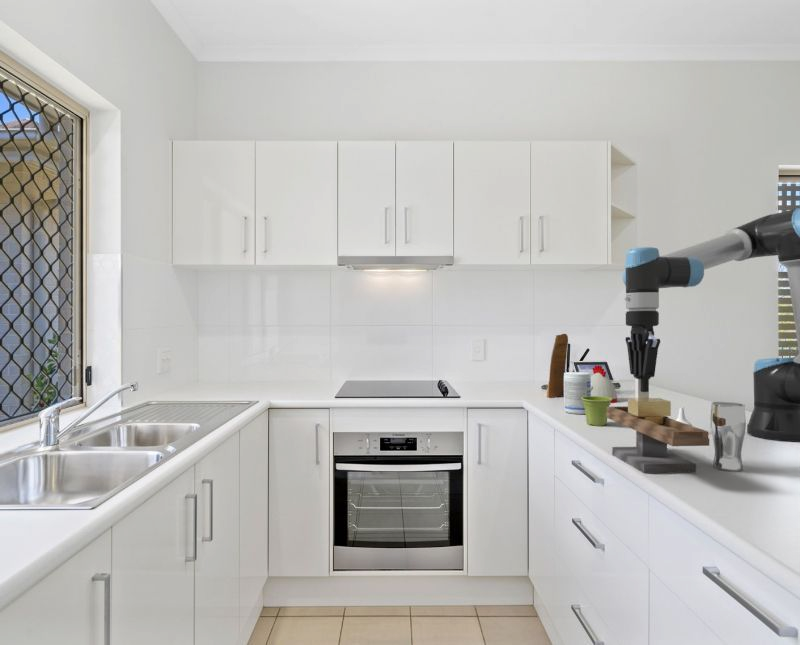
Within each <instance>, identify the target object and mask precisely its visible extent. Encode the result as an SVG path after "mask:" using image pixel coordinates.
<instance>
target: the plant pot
mask: <svg viewBox="0 0 800 645" xmlns="http://www.w3.org/2000/svg"><path fill="white" fill-rule="evenodd" d="M582 400H583V403H584V407H585V414H584V415H585V420H586V425H588V426H591V425H593V426H595V427H603V426H606V425H607V424H608V418H606V412H607V407H610V406H611V403H610V402H611V401H612V399H611V398H608V397H601V396H585V397H582Z"/></svg>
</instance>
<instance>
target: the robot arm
mask: <svg viewBox="0 0 800 645" xmlns="http://www.w3.org/2000/svg"><path fill="white" fill-rule="evenodd" d="M659 252H660V251H659V249H658V248H656V247H652V246H651V247H650V246H646V247H644V246H643V247H635V248H631V249H628V251H626V254H625V266H624V269H623V273H622V282H623V284H624V285H625V297H624V301H625V309H627V311H626V312H625V325H626V326H628V327H631V328H630V336H626V337H625V339H624V340H625V342H626V347H627V355H628V363H629V366H628V367H629V373H630V375H632V376H633V377H634V379H635V381H634V382H635V383H634V386H635V387H634V388H635V390H634V391H635V392H634V396H635V397H634V398H650V379H651V378H654V377H655V373H656V367H657V366H656V365H657V358H658V351H659V347H660V344H661V339H660V338H656V337H655V331H654V327H657V326H659V325H660V324H659V323H660V315H659V314H660V312H659V311H657V309H659V307H660V293H659V292H660V291H659V290H660V289H666V288H667V289H668V288H679V287H680V288H691V287H692V288H693V287H696V286H698V285H700V284H701V282H702V281H703V279H704V277H705V270H708V269H712V268H713V267H717V266H720V265H722V264H727V263H728V262H732V261H735V262H742V261H745V260H749V259H753V258H754V259H755V258H762V257H772V256H773V257H774V256H777V257H778V263H779V264H781V265H782V266H784V267H785V268H786V271H787V277H788V278H787V279H788V285H789V286H788V287H789V293H790V299H791V306H792V312H793V320H794V327H795V328H794V329H795V335H796V339H797V340H796V341H797V346H798V348H797V349H798V354H797V356H795V357H774V358H773V357H771V358H760V359H757V360H756V361H755V362H754V366H753V368H754V369H753V410H752V412H751V414H750V418H749V421H748V423H747V425H746V433H747V434H748V435H750V436H754V437H756V438H762V439H767V440H774V441H785V442H800V207H799V208H798V207H797V208H793V209H789V210H785V211H781V212H777V213H772V214H768V215H765V216H762V217H759V218H756V219H753V220H752V221H750V222H747V223H745V224H741V225H740V226H739V225H738V226H737V227H734V228H731V229H729V230H727V231H726V232H725V234H723V235H721V236H718V237H715V238H713V239H709V240H706V241H704V242H700V243H698V244H697V243H696V244H694V245H690V246H687V247H685V248H682V249H679V250H675V251H674V252H670V253H667V254H664V255H660V253H659Z"/></svg>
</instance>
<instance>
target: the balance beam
mask: <svg viewBox="0 0 800 645" xmlns="http://www.w3.org/2000/svg"><path fill="white" fill-rule="evenodd" d="M606 418H607V420H608V419H609V420H610V421H614V422H616V423H618V424H620V425H622V426H625V427H627V428H630V429H632V430H634V431H635V432H636V433H635V436H636V437H635V440H636V442H635V444H636V446H611V447H612V449H611V450H612V453H611V454H612V456H613V457H616V458H617V459H619V460H620V461H623V462H624V463H626V464H627V465H629V466H631V467H633V468H634V469H636V470H637V471H639V472H641V473H643V474H661V473H662V472H679V473H696V472H697V470H696V469H697V468H696V466H697V465H696V464H697V463H696V462H694V461H691V460H689V459H687V458H685V457H682V456H681V455H679V454H676V453H674V452H672V451H669V450H668V446H671V447H706V446H707V447H709V446H710V437H709V430H704V429H702V428H699V427H696V426H693V425H692V426H691V425H688V424H685V423H682V422H679V421H676V419H672V418H671V417H669V416H663V424H656V423H654V422H651V421H648V420H646V419H643V418H642V417H638V416H635V415H633V414H630V413H628V405H627V406H609V407H607V412H606Z"/></svg>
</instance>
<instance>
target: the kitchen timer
mask: <svg viewBox="0 0 800 645" xmlns="http://www.w3.org/2000/svg"><path fill="white" fill-rule="evenodd" d="M592 371H593V372H592V373H593V374H592V375H590V377H591V396H601V397H608V398H611V399H612V401H611V402H610V404H613V403H617V402H618V394H617V391H616V385H615V384H614V383H613V382H612V379H610V378H609V376H608V375H607V371H605V368H603V367H602V365H599V364H598V365H594V367H592Z"/></svg>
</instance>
